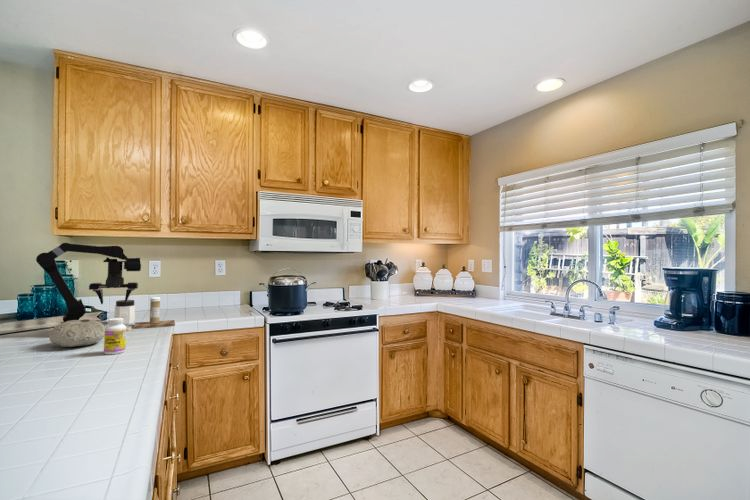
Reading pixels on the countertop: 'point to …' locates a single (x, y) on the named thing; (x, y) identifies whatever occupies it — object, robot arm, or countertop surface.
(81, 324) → the grey rock
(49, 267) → the robot arm
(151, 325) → the board
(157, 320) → the sprinkles bottle
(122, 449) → the countertop surface
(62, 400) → the countertop surface
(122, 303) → the jar
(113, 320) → the supplement bottle
